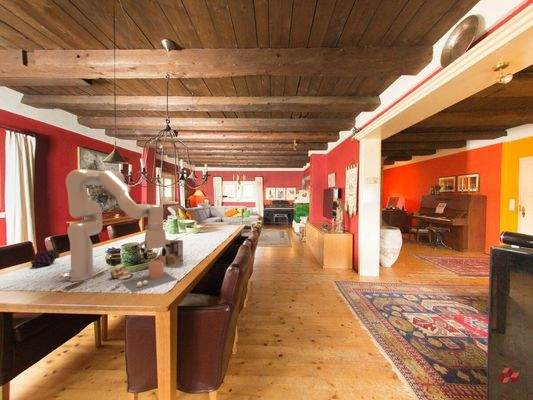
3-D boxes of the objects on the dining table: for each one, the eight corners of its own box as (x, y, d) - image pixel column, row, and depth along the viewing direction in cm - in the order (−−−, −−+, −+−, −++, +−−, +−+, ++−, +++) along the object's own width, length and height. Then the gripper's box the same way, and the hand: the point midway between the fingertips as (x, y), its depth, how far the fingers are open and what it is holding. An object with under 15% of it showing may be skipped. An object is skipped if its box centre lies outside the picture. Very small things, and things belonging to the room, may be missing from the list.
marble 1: (137, 288, 111) (137, 283, 111) (136, 286, 112) (136, 282, 112) (143, 286, 113) (143, 282, 112) (141, 285, 114) (141, 280, 114)
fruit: (29, 273, 139) (51, 260, 153) (46, 270, 139) (66, 257, 153) (21, 259, 136) (44, 246, 150) (38, 256, 136) (60, 244, 150)
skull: (139, 272, 130) (130, 263, 123) (128, 290, 123) (118, 281, 116) (122, 270, 133) (111, 261, 126) (110, 287, 126) (99, 278, 118)
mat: (132, 294, 106) (132, 292, 106) (120, 283, 118) (120, 282, 118) (177, 280, 122) (177, 279, 122) (163, 272, 134) (163, 271, 134)
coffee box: (183, 264, 149) (183, 240, 148) (178, 267, 142) (178, 242, 142) (170, 263, 150) (170, 239, 149) (165, 267, 143) (164, 241, 143)
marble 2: (143, 286, 113) (143, 281, 113) (141, 285, 114) (141, 280, 114) (148, 285, 115) (148, 280, 114) (147, 283, 116) (146, 279, 116)
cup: (152, 279, 121) (152, 265, 121) (147, 276, 126) (147, 262, 126) (165, 276, 126) (165, 262, 126) (160, 273, 131) (159, 259, 131)
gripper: (141, 229, 116) (140, 262, 117) (173, 226, 129) (173, 256, 130) (136, 227, 121) (135, 258, 122) (168, 224, 134) (167, 253, 135)
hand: (154, 257), depth 126 cm, fingers open, 9 cm apart
